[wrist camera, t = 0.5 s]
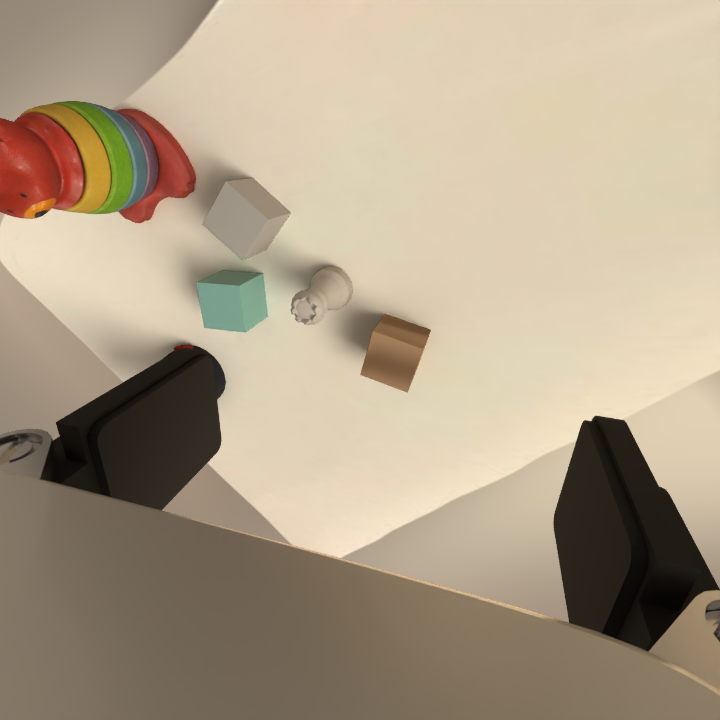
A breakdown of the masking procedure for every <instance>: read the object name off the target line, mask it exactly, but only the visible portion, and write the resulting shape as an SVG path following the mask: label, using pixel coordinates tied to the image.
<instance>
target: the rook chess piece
mask: <svg viewBox="0 0 720 720" xmlns="http://www.w3.org/2000/svg"><path fill="white" fill-rule="evenodd" d="M352 293H353V287H352V282H351V280H350V278H349V277H348V275H347V274H346V273H345V272H344V271H342V270H341V269H339V268H336V267H333V266H332V267H324V268H323V269H321V270H319V271H318V272H317V273H316V274H315V275H314V277H313V278H312V279H311V283H310V288H309V289H307V290H305V291H300V292H298V293H297V294H295V296H294V297H293V299H292V305H291V306H292V309H291V313H292V314H294V315H295V316H296V318H295V320H296V321H298V322H300V321H301V322H302V323H304V324H308V325H309V324H316V323H318V322H320V321H321V319H322V318H323V317H324V314H325V312H326V311H327V310H337V309H339V308H341V307H343V306H344V305H346V304H347V303H348V302H349V300H350V299H351V297H352Z"/></svg>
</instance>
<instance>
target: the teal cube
mask: <svg viewBox="0 0 720 720" xmlns="http://www.w3.org/2000/svg"><path fill="white" fill-rule="evenodd" d="M196 285H197V290H198V296H199V301H200V307H201V312H202V318H203V323H204V328H210V329H219V330H228V331H237V332H247V331H248V330H250V329H251V328H253V327H254V326H255V325H257V324H258V323H260V322H261V321H262V320H264V319H265V318H267V317H268V313H267V304H266V295H265V286H264V277H263V273H252V272H237V271H221V272H218V273H216V274H214V275H212V276H209V277H207V278H205V279H203V280H200V281H198V282H196Z"/></svg>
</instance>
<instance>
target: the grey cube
mask: <svg viewBox="0 0 720 720" xmlns="http://www.w3.org/2000/svg"><path fill="white" fill-rule="evenodd" d="M290 214H291V212H290V211H289V210H287V209H286V208H285V207H284V206H283V205H282V204H281V203H280V202H279V201H278V200H277V199H276V198H274V197H273V196H272V195H271V194H270V193H269V192H268V191H267V190H266V189H265V188H264V187H262V186H261V185H260V184H259V183H258V182H257V181H256V180H255V179H254V178H249V179H241V180H232V181H226V182H225V184H224V186H223V188H222V189H221V191H220V193H219V195H218V197H217V198H216V200H215V202H214V204H213V206H212V207H211V209H210V211H209V213H208V215H207V217H206V218H205V220H204V222H203V224H202V225H203V226H205V227H206V228H207V229H208V230H209V231H210V232H211V233H212V234H214V235H215V236H216V237H217V238H218V239H219V240H220V241H221V242H222V243H224V244H225V245H226V246H227V247H228V248H229V249H230V250H231V251H232V252H234V253H235V254H236V255H237V256H238V257H239V258H240V259H241V260H244V259H246V258H249V257H251V256H253V255H256V254H258V253H260V252H263V251H265V250H267V248H268V247H269V245H270V244H271V242H272V241H273V239H274V238H275V236H276V235H277V233H278V232H279V230H280V229H281V227H282V226H283V224H284V223H285V221H286V220H287V218H288V217H289V215H290Z"/></svg>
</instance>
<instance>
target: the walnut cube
mask: <svg viewBox="0 0 720 720" xmlns="http://www.w3.org/2000/svg"><path fill="white" fill-rule="evenodd" d="M430 331H431V330H429V329H427V328H424V327H421V326H418V325H415V324H412V323H409V322H407V321H404V320H401V319H398V318H395V317H392V316H390V315H387V314H385V315H384V316H383V318H382V319H381V321H380V322H379V323H378V325H377V326H376V327H375V329H374V330H373V332H372V336H371V339H370V343H369V346H368V350H367V353H366V357H365V360H364V364H363V367H362V371H361V374H360V375H362V376H365V377H368V378H370V379H373V380H376V381H378V382H381V383H384V384H386V385H389V386H392V387H394V388H397V389H400V390H402V391H405V392H408V390H409V387H410V385H411V382H412V380H413V377H414V375H415V372H416V370H417V367H418V364H419V362H420V359H421V356H422V353H423V351H424V348H425V345H426V342H427V339H428V337H429V334H430Z"/></svg>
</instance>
